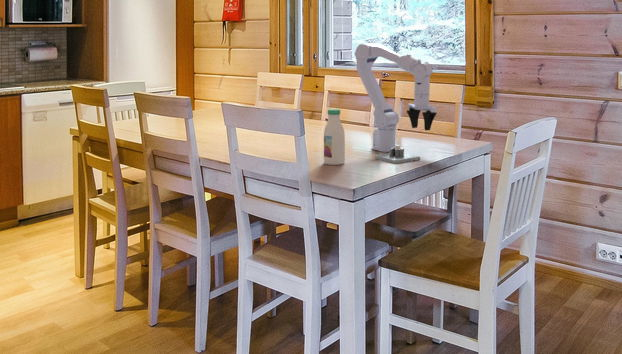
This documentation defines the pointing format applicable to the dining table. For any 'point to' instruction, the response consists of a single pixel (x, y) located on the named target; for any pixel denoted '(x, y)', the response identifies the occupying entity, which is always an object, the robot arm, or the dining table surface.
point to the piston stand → (397, 159)
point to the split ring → (396, 152)
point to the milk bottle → (334, 139)
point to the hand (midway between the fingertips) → (421, 128)
